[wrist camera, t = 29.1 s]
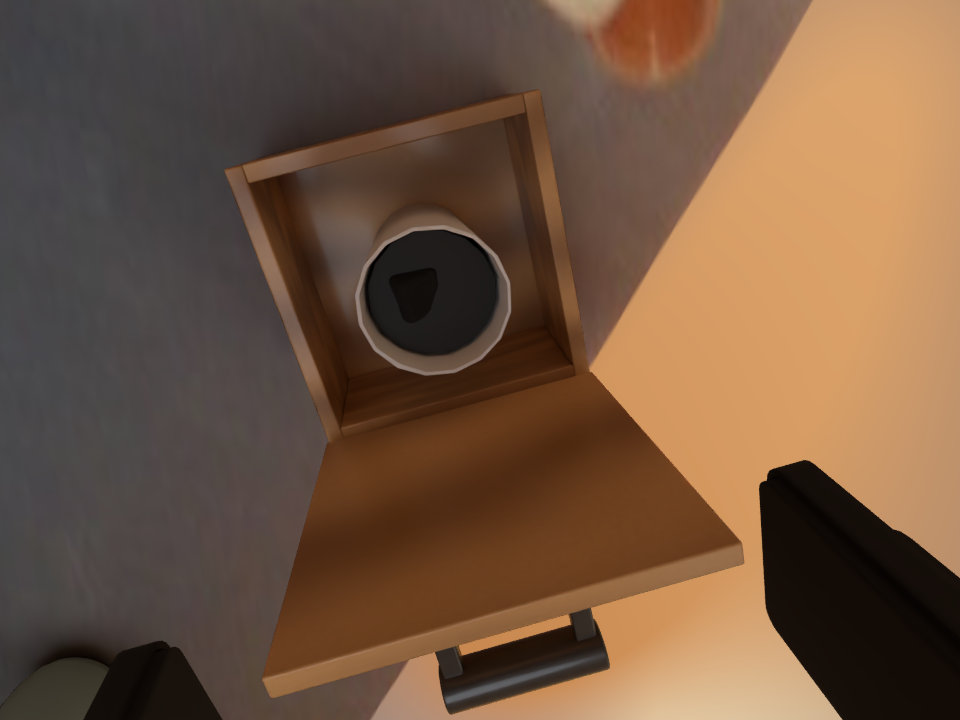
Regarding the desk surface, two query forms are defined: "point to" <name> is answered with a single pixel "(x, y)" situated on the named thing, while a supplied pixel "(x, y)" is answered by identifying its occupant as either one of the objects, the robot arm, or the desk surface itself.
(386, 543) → the lid
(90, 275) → the desk surface
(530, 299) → the box
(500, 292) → the white tumbler
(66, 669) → the cup
